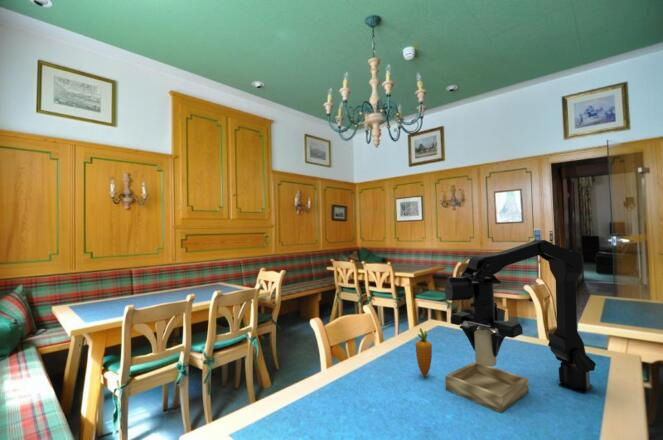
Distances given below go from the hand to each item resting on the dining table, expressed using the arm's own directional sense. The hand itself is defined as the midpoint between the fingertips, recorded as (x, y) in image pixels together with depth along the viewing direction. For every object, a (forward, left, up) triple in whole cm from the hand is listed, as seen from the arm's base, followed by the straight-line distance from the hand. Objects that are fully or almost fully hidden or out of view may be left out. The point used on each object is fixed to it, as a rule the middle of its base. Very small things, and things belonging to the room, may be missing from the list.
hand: (485, 353), depth 95 cm
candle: (0, 0, -3) cm, 3 cm away
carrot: (+17, +6, -11) cm, 21 cm away
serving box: (0, 0, -11) cm, 11 cm away
